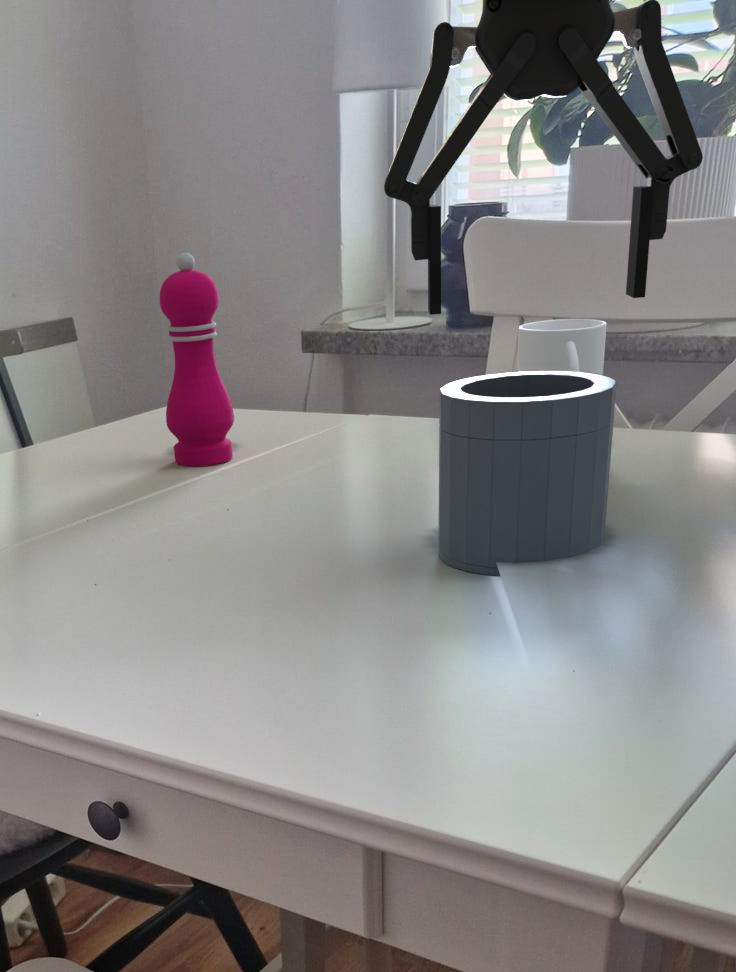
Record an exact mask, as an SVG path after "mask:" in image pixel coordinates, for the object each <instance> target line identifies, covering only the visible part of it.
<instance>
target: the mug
mask: <svg viewBox="0 0 736 972" xmlns="http://www.w3.org/2000/svg"><path fill="white" fill-rule="evenodd" d="M607 324H608V323H607V322H606V321H604V320H602V319H601V320H600V319H594V318H593V319H592V318H559V319H546V320H538V321H533V322H527V323H524V324H521V325H519V326H518V330H517V331H518V332H517V354H516V355H517V357H516V358H517V359H516V372H528V371H529V372H530V371H566V372H582V373H590V374H597V375H602V376H604V366H605V365H604V363H605V354H606V353H605V351H606V339H607V338H606V336H607Z"/></svg>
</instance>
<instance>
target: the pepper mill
mask: <svg viewBox="0 0 736 972" xmlns="http://www.w3.org/2000/svg"><path fill="white" fill-rule="evenodd" d="M195 265H196V264H195V257H194V256H193V255H192V254H191V253H189V252H182V253H180V254H179V255H178V257H177V258H176V266H177V268H178V269H179V271H175V272H173V273H171V274H170V275H168V276H167V277H166V278H165V279H164V281H163V282H162V284H161V286H160V289H159V308H160V310H161V312H162V314H163V315H164V316H165V317H166V318H167V320H168V321H169V323H170V324H169V325H168V326H167V327H166V329H167V331H168V337H167V339H168V341H170V342H172V348H173V353H174V370H173V379H172V383H171V386H170V390H169V394H168V399H167V402H166V409H165V419H166V420H165V423H166V427H167V428H168V431H169V432H170V433H171V434H172V436H174V437H175V438H176V440H177V443H175V444H174V445H173V453H174V462H175V464H177V465H178V466H183V467H195V468H196V467H208V466H215V465H220V464H224V463H227V462H229V461H231V460H232V459H233V457H234V455H233V454H234V452H233V443H232V440H231V439H229V438H227V435H228V433H229V432H230V430H231V429H232V427H233V425H234V422H235V411H234V407H233V404H232V400H231V397H230V395H229V393H228V390H227V389H226V386H225V384H224V382H223V380H222V377H221V375H220V373H219V370H218V366H217V363H216V358H215V350H214V348H215V347H214V338H216V337H217V336H218V333H217V331H216V328H215V327H216V326H217V323H216V322H215V321H214V320H213V317H214V315H215V313H216V312H217V310H218V307H219V304H220V302H219V301H220V296H219V290H218V287H217V285H216V282H215V281H214V279H213V278H212V277H211V276H210V275H209V274H207V273H206V272H203V271H201V270H197V269H194V268H195Z"/></svg>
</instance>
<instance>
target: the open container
mask: <svg viewBox="0 0 736 972" xmlns="http://www.w3.org/2000/svg"><path fill="white" fill-rule="evenodd" d="M617 384H618V383H617V381H615V379H613V378H612V377H610V376H605V375H603V376H602V375H597V374H590V373H582V372H566V371H530V372H529V371H528V372H517V371H514V372H512V371H511V372H502V373H491V374H484V375H477V376H472V377H467V378H462V379H459V380H455V381H452V382H449V383H446V384H445V385H444V386H442V387H440V389H439V414H438V416H439V422H438V424H439V427H438V428H439V429H438V430H439V431H438V531H437V533H438V538H437V539H438V541H437V543H438V556H439V559H440V560H441V561H442V562H443V563H445V564H446V565H448V566H450V567H452V568H455V569H458V570H461V571H465V572H468V573H473V574H480V575H487V576H495V577H497V576H499V577H500V576H501V573H500V570H499V567H498V564H497V562H499V563H533V562H547V561H554V560H561V559H566V558H567V559H568V558H571V557H576V556H579V555H582V554H585V553H589V552H590V551H592V550H595V549H597V548H598V547H600V546H601V545H602V544H603V541H604V539H605V533H606V521H607V520H606V518H607V510H608V509H607V507H608V495H609V484H610V473H611V472H610V471H611V460H612V459H611V458H612V449H613V448H612V447H613V433H614V422H615V421H614V420H615V410H616V409H615V407H616V399H617V398H616V397H617V386H618V385H617Z"/></svg>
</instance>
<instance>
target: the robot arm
mask: <svg viewBox="0 0 736 972" xmlns="http://www.w3.org/2000/svg"><path fill="white" fill-rule="evenodd" d="M613 34H618V35H619V36H620V38H621V40H622V43H623V45H624V47H625V48H627V49H633V50H634V57H635V60H636V63H637V66H638V70H639V72H640V75H641V77H642V79H643V82H644V85H645V88H646V90H647V93H648V95H649V96H648V97H649V98H650V101H651V103H652V106H653V109H654V111H655V114H656V117H657V120H658V122H659V123H658V124H659V125H660V129H661V131H662V133H663V135H664V139H665V141H666V144H667V146H668V149H669V152H670V155H669V156H667V157H666V156H665V155H664V154H663V153H662V151H661V150H660V148H659V147H658V146H657V144H656V143H655V141H654V140H653V139H652V137H651V136H650V134H649V132H648V131H647V130H646V129H645V128H644V126H643V125H642V123H641V122H640V121H639V119H638V118H637V116H636V115H635V114H634V112H633V111H632V110H631V108H630V107H629V105H628V103H626V101H625V100H624V98H623V97H622V96H621V94H620V93H619V92H618V89H616V87H615V86H614V84H613V82H612V80H611V77H610V76H609V75H608V74H607V72H606V71H605V70H604V68H603V67H602V65H601V64H600V63H599V61H598V59H599V57H600V55H601V54H602V52H603V51H604V50H605V47H606V46H607V45H608V43H609V41H610V39H611V38H612V36H613ZM662 37H663V36H662V7H661V4H660V3H659V1H658V0H647V1H644V2H643V3H641V4H639V5H638V6H634V7H630V8H626V9H621V10H617V11H613V9H612V7H611V4H610V0H482V11H481V16H480V19H479V22H478V25H477V26H454V25H452V24H451V23H449V22H447V21H443V22H441V23H439V24H437V26H436V27H435V28H434V31H433V32H432V36H431V46H430V56H429V57H430V58H429V69H428V71H427V74H426V76H425V79H424V81H423V84H422V86H421V89H420V91H419V94H418V96H417V98H416V101H415V104H414V106H413V108H412V111H411V114H410V116H409V119H408V122H407V124H406V127H405V129H404V132H403V134H402V137H401V139H400V141H399V144H398V146H397V149H396V151H395V154H394V157H393V159H392V162H391V163H390V167H389V169H388V172H387V175H386V177H385V179H384V182H383V185H382V186H383V192H384V193H385V195H386V196H387V197H389V198H391V199H395V200H398V201H401V202H404V203H406V204H407V205H408V207H409V210H410V250H411V251H410V252H411V254H412V257H413V259H414V261H426V260H427V298H428V299H427V311H428V313H429V315H442V206H441V204H430V203H431V202H430V201H431V198H432V197H433V196H434V194H435V193H436V191H437V190H438V188H439V187H440V186H441V184H442V182H443V181H444V180H445V179H446V177H447V175H449V172H450V171H451V169H452V168H453V166H454V165H455V164H456V162H457V161H458V159H459V158H460V157H461V155H462V154H463V152H464V151H465V149H466V148H467V147H468V145H469V143H470V142H471V140H472V139H473V138H474V136H475V135H476V133H477V132H478V131H479V129H480V127H481V126H482V125H483V123H484V122H485V121H486V119H487V118H488V116H489V115H490V113H491V112H492V111H493V109H494V108H495V107H496V106H497V104H498V102H499V101H500V100H501V98H502V97H503V95H504V96H505V97H506V98H508V99H509V100H511V101H513V102H515V103H517V102H527V101H529V100H532V99H536V98H537V97H540V96H541V97H544V98H549V99H557V98H565V97H568V96H569V95H571V94H573V93H575V91H577V90H579V91H580V93H581V94H582V95H583V97H584V98H585V99H586V101H588V102H589V103H590V104H591V106H592V107H593V108H594V110H595V112H597V114H598V116H599V117H600V118H601V119H602V121H603V122H604V123H605V125H606V126H607V127H608V129H609V130H610V132H611V133H612V134H613V136H614V137H615V138H616V140H617V141H618V143H619V144H620V145H621V146H622V148H623V149H624V151H625V152H626V154H627V155H628V156H629V157H630V159H631V160H632V162H633V163H634V165H635V166H636V167H637V169H638V170H639V171H640V172H641V174H642V175H643V176H644V178H645V179H646V185H636V186H633V187H632V188H633V189H632V200H631V201H632V202H631V216H630V217H631V218H630V229H629V230H630V231H629V243H628V244H629V245H628V257H627V258H628V259H627V273H626V285H625V286H626V287H625V289H626V290H625V295H626V296H629V297H631V298H632V299H640V298H646V292H647V291H646V290H647V279H648V267H649V265H648V264H649V253H650V241H655V240H656V241H657V240H663V238H664V236H665V233H666V232H667V225H668V223H667V222H668V211H669V200H670V189H671V185H672V183H673V182H674V181H675V180H676V179H677V178H678V177H680V176H682V175H684V174H686V173H688V172H690V171H693V170H696V169H698V168H699V167H700V165H702V162H703V158H704V157H703V151H702V149H701V147H700V144H699V141H698V138H697V135H696V132H695V130H694V127H693V124H692V121H691V119H690V116H689V114H688V111H687V108H686V105H685V102H684V100H683V96H682V95H681V92H680V89H679V85H678V83H677V80H676V77H675V75H674V72H673V69H672V67H671V64H670V61H669V57H668V54H667V52H666V50H665V48H664V44H663V41H662V40H663V39H662ZM472 48H474V50H475V52H476V53H477V56H478V57H479V58H480V60H481V62H482V63H483V65H484V66H485V68H486V70H487V71H488V73H489V75H488V76H487V78H486V80H485V81H484V83H483V84H482V85H481V87H480V88H479V90H478V91H477V93H476V94H475V96H474V98H473V99H472V100H471V102H470V104H469V105H468V106H467V108H466V110H465V111H464V112H463V114H462V115H461V117H460V118H459V120H458V121H457V123H456V124H455V126H454V127H453V129H452V131H451V132H450V133H449V135H448V136H447V137H446V139H445V140H444V142H443V143H442V144H441V147H440V148H439V149H438V151H437V152H436V153H435V156H433V158H432V159H431V161H430V163H428V165H427V166H426V168H425V169H424V171H423V173H422V174H421V176H420V177H419V178H418V180H417V181H416V182H414V181H411V180H409V179H408V180H407V178H408V176H409V174H410V171H411V169H412V166H413V164H414V161H415V160H416V156H417V154H418V151H419V149H420V147H421V144H422V141H423V140H424V137H425V134H426V132H427V129H428V126H429V124H430V122H431V120H432V117H433V114H434V111H435V109H436V106H437V104H438V102H439V100H440V97H441V94H442V92H443V89H444V87H445V85H446V82H447V79H448V76H449V72H450V69H451V68H455V67H457V66H459V65H460V64H461V63H462V61H463V59H464V57H465V53H466V52H467V51H468V50H469V49H472Z"/></svg>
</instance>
